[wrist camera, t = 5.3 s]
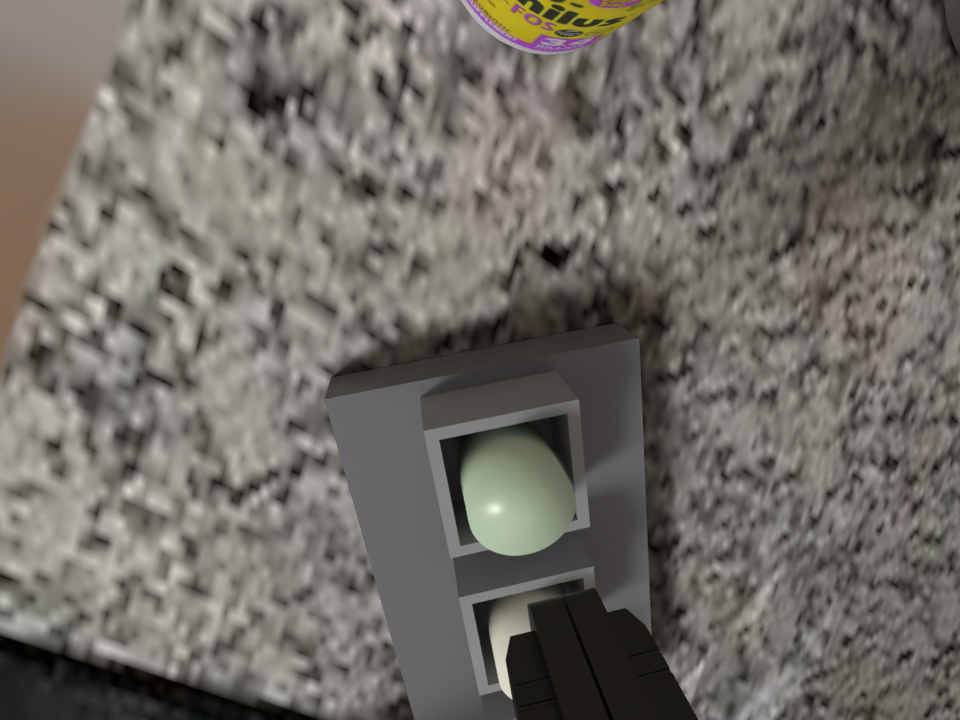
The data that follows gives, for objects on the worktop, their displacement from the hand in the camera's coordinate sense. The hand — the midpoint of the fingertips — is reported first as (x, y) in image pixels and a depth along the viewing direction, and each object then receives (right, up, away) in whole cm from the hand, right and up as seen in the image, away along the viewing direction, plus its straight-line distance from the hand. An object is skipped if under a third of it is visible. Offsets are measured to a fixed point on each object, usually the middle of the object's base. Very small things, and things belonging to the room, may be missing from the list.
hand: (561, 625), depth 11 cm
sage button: (-1, +2, +6) cm, 7 cm away
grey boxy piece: (0, -3, +12) cm, 12 cm away
